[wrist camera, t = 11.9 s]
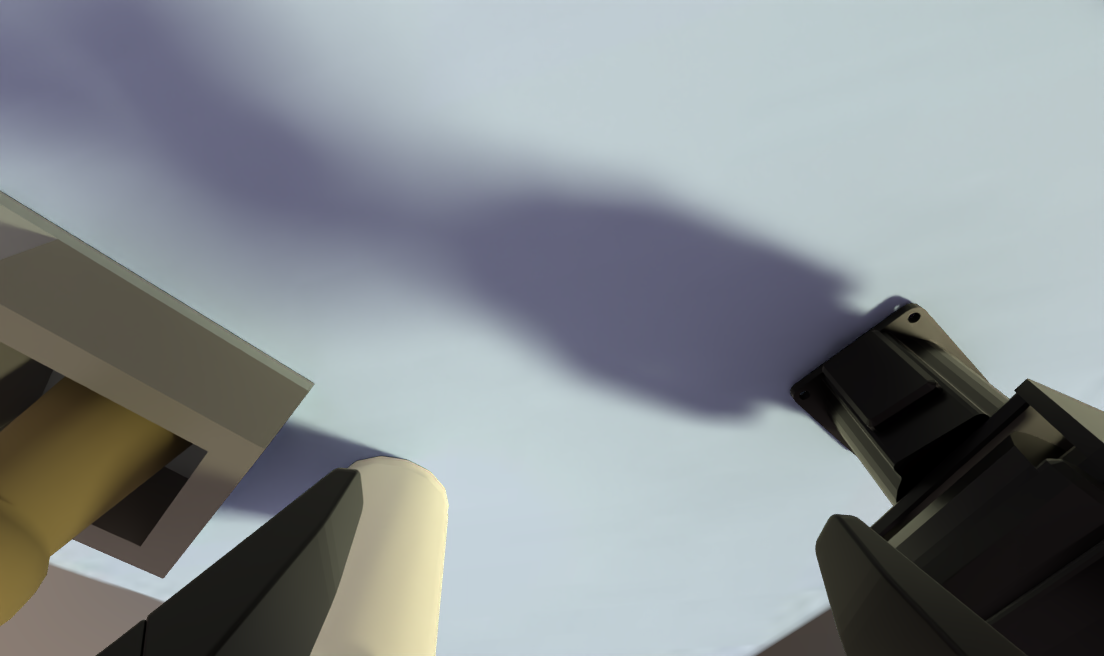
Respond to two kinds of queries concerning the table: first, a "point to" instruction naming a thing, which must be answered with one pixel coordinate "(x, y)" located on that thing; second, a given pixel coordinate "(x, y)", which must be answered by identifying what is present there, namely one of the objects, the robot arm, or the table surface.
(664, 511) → the table surface
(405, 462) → the foam cup
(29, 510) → the cork
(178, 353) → the socket
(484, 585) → the table surface
